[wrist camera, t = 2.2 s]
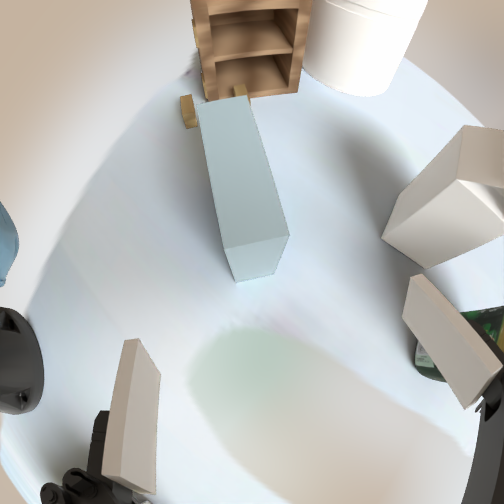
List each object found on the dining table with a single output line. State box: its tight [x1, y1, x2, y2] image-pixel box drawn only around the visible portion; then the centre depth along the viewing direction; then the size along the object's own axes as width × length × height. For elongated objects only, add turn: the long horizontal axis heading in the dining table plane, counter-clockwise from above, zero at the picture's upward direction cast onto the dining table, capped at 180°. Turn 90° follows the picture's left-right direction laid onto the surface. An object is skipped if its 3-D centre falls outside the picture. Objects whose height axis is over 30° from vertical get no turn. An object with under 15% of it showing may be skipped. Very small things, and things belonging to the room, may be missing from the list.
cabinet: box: [180, 0, 313, 129], centre depth 29 cm, size 16×14×16 cm
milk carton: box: [381, 125, 504, 269], centre depth 22 cm, size 7×7×19 cm
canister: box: [302, 0, 428, 96], centre depth 29 cm, size 16×16×20 cm
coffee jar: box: [415, 306, 504, 383], centre depth 18 cm, size 10×8×19 cm
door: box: [196, 95, 290, 283], centre depth 25 cm, size 4×12×13 cm, turn 13°
